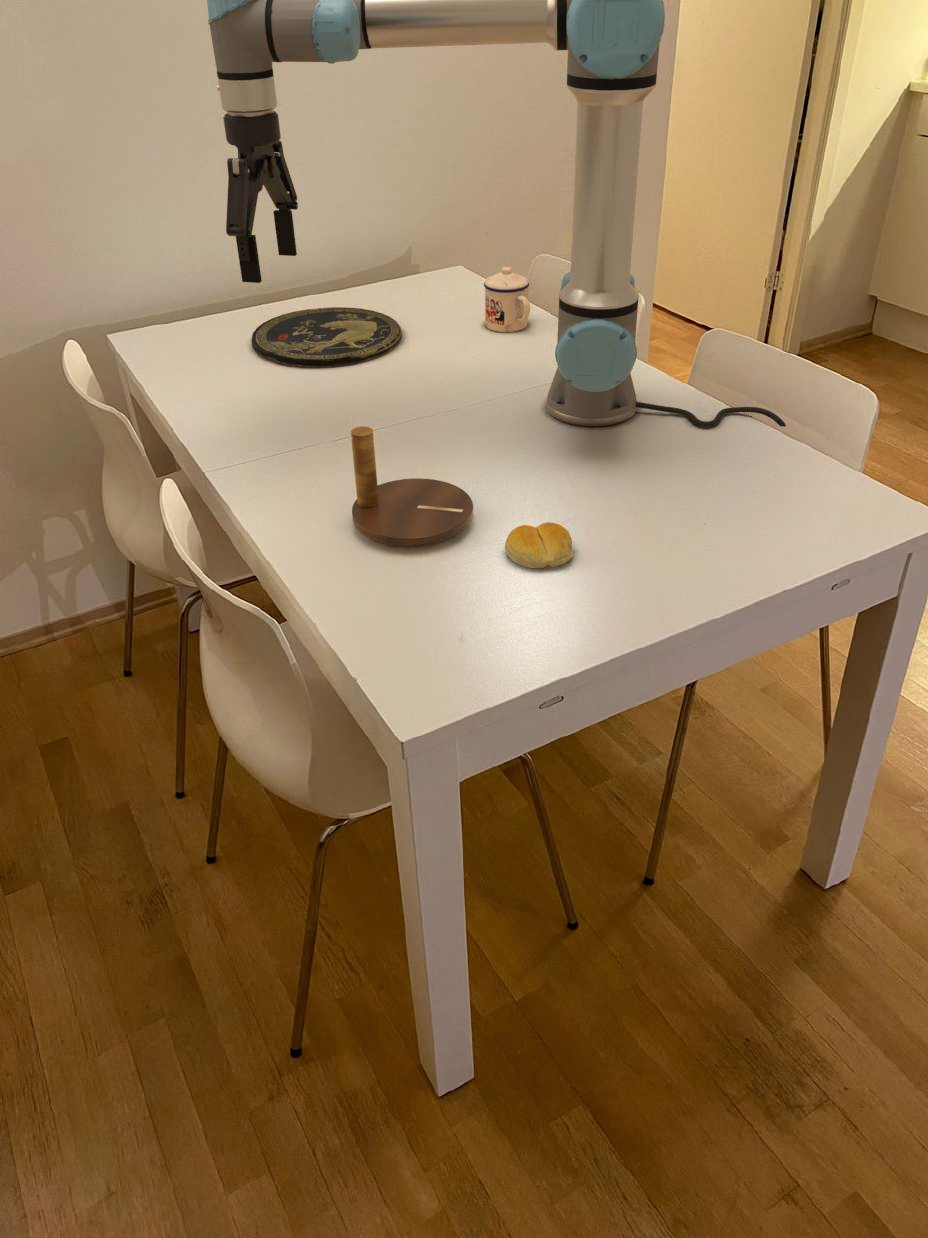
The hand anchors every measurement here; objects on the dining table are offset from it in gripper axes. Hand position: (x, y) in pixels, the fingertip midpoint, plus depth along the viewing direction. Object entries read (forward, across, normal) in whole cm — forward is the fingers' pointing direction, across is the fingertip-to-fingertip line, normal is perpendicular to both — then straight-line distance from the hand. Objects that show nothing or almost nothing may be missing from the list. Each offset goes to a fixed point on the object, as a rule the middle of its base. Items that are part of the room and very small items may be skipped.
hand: (270, 267), depth 151 cm
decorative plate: (+27, -42, -10) cm, 51 cm away
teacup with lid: (+27, -56, +25) cm, 67 cm away
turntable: (+26, +24, +28) cm, 45 cm away
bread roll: (+27, +28, +47) cm, 61 cm away
